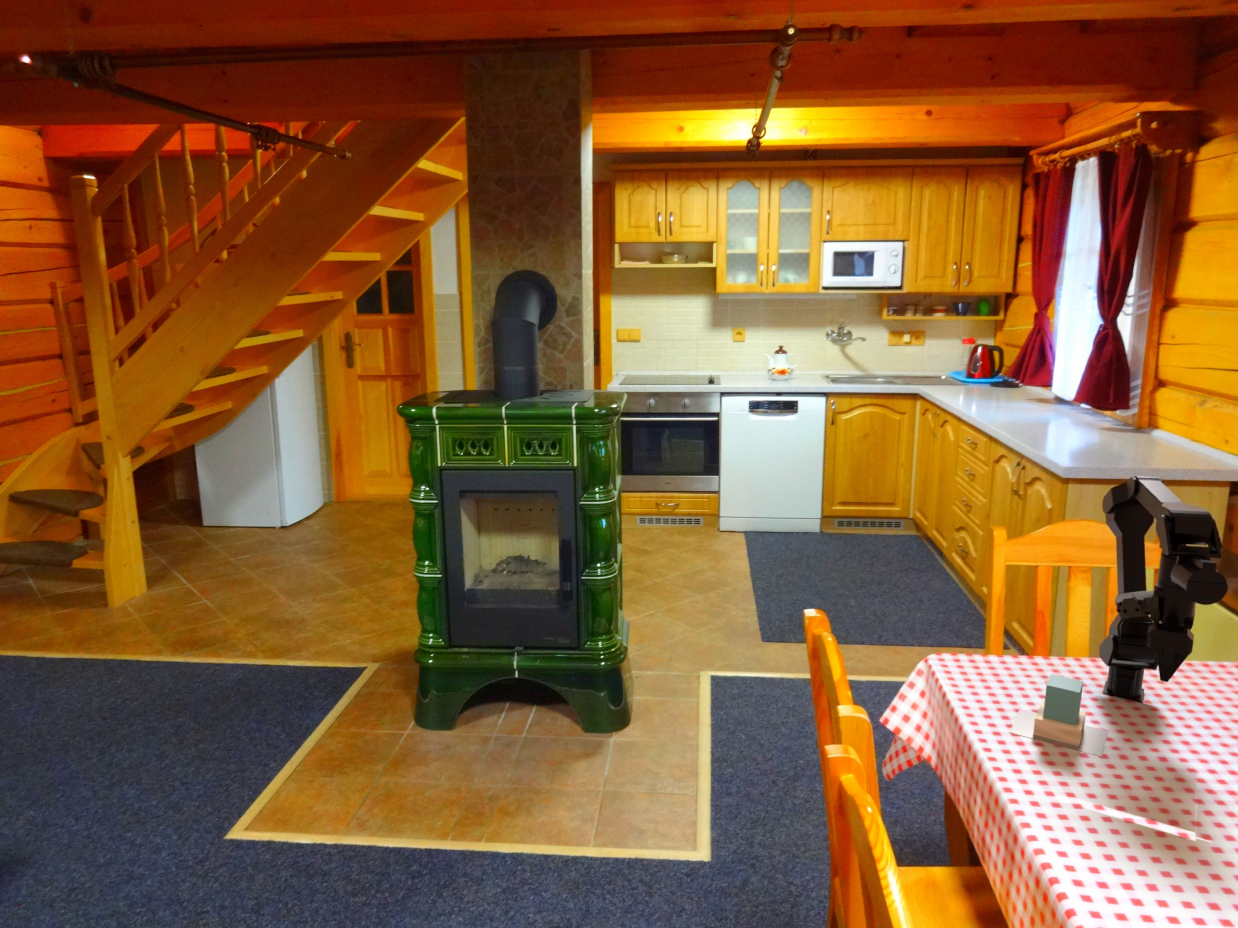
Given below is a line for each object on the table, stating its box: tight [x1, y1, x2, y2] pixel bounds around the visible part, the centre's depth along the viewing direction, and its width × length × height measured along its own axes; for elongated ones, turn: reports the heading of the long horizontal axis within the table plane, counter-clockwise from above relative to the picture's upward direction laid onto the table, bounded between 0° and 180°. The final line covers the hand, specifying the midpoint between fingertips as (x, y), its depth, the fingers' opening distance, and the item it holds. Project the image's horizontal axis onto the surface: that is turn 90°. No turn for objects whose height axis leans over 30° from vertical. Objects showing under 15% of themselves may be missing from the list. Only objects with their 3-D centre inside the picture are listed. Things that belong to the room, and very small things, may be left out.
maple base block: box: [1033, 701, 1087, 746], centre depth 150 cm, size 7×7×3 cm
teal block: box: [1043, 673, 1084, 726], centre depth 149 cm, size 5×5×6 cm
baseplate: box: [1009, 708, 1109, 758], centre depth 150 cm, size 10×14×1 cm
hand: (1165, 670), depth 147 cm, fingers open, 9 cm apart
